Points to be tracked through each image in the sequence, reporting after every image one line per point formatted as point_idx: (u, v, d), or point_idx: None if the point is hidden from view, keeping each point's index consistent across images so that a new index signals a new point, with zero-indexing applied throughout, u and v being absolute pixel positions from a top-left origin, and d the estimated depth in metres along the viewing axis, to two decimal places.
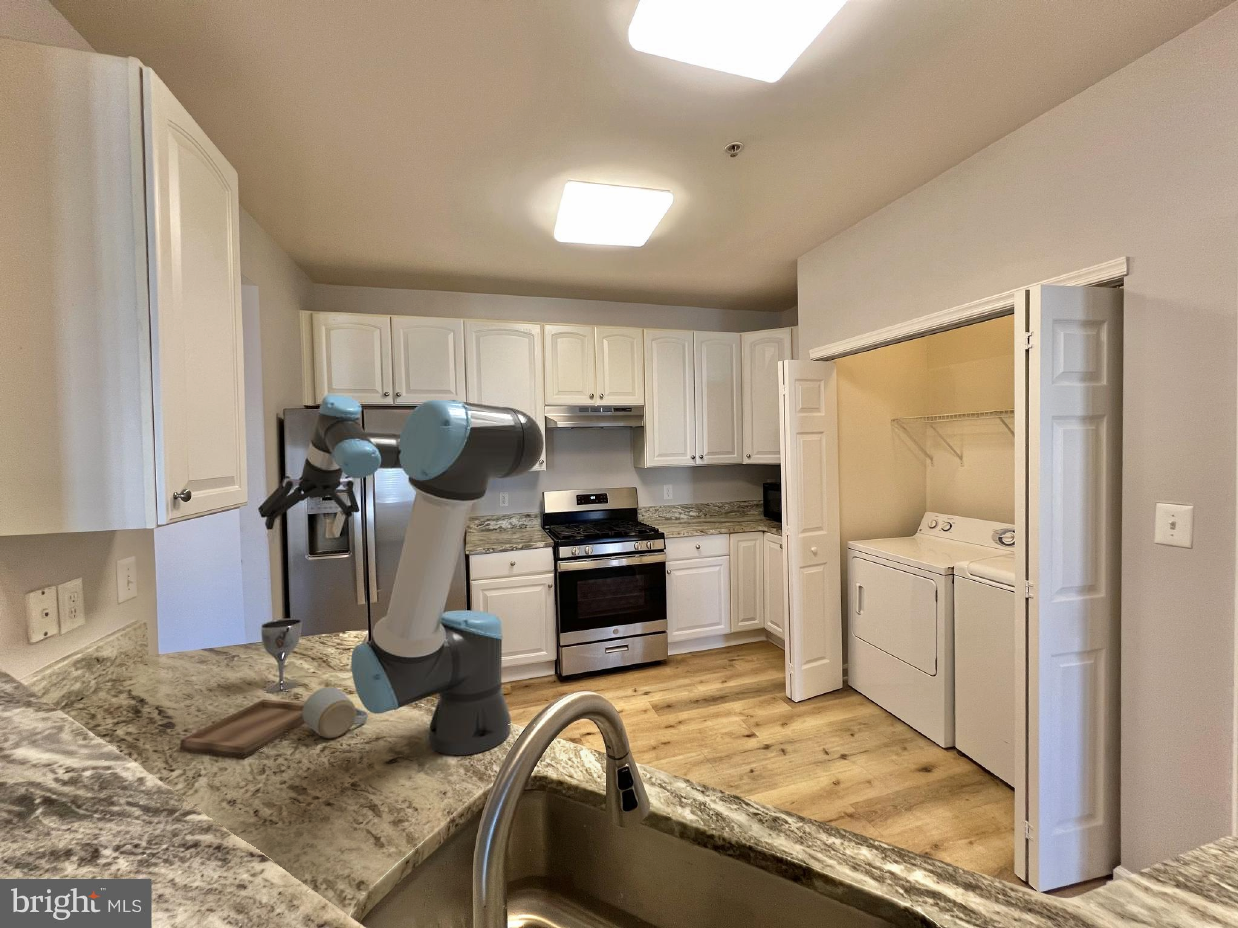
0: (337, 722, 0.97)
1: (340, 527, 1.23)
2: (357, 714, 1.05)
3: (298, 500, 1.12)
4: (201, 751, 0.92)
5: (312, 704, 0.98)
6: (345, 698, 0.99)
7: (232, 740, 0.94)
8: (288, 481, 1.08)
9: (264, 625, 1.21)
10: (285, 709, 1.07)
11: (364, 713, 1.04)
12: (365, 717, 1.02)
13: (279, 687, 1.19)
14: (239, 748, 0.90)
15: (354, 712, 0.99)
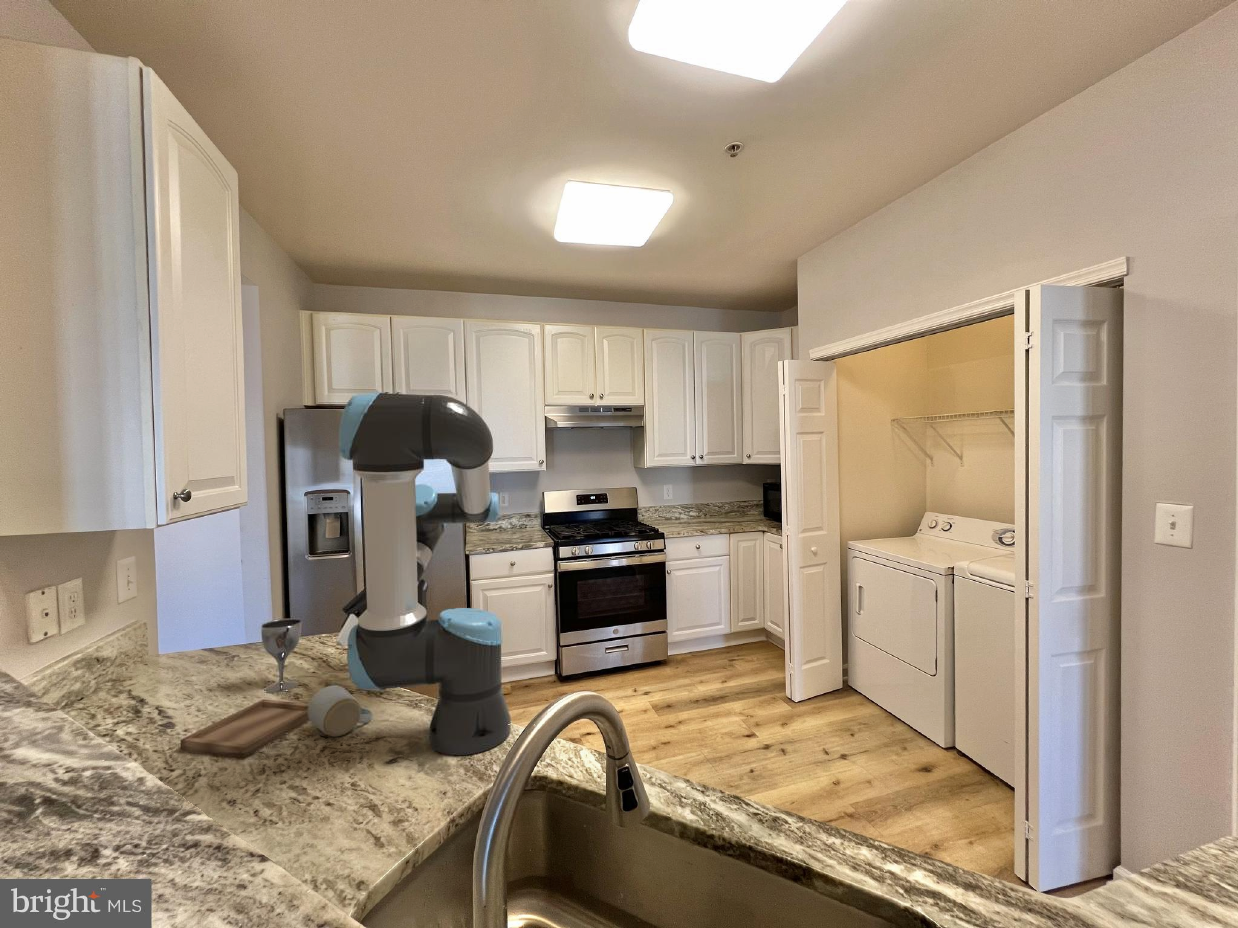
0: (342, 720, 0.97)
1: None
2: (362, 713, 1.05)
3: None
4: (201, 751, 0.92)
5: (317, 702, 0.98)
6: (350, 697, 1.00)
7: (232, 740, 0.94)
8: None
9: (264, 625, 1.21)
10: (285, 709, 1.07)
11: (369, 712, 1.05)
12: (370, 715, 1.02)
13: (279, 687, 1.19)
14: (239, 748, 0.90)
15: (359, 710, 1.00)
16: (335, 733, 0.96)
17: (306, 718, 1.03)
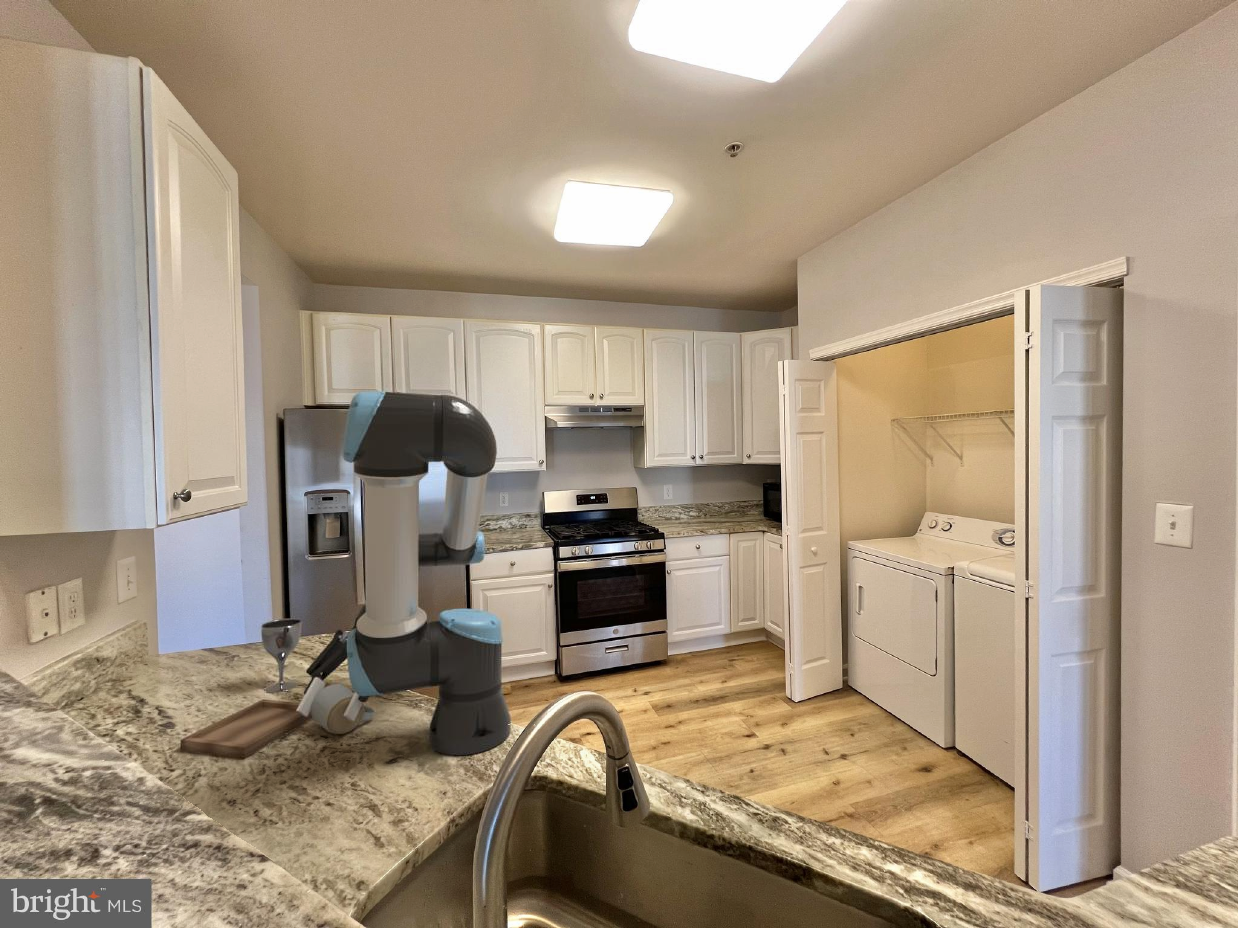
0: (345, 718, 0.98)
1: (353, 699, 0.97)
2: (364, 711, 1.06)
3: (341, 650, 1.06)
4: (201, 751, 0.92)
5: (321, 701, 0.99)
6: None
7: (232, 740, 0.94)
8: None
9: (264, 625, 1.21)
10: (285, 709, 1.07)
11: (371, 710, 1.06)
12: (373, 714, 1.03)
13: (279, 687, 1.19)
14: (239, 748, 0.90)
15: (362, 708, 1.00)
16: (339, 731, 0.97)
17: (306, 718, 1.03)
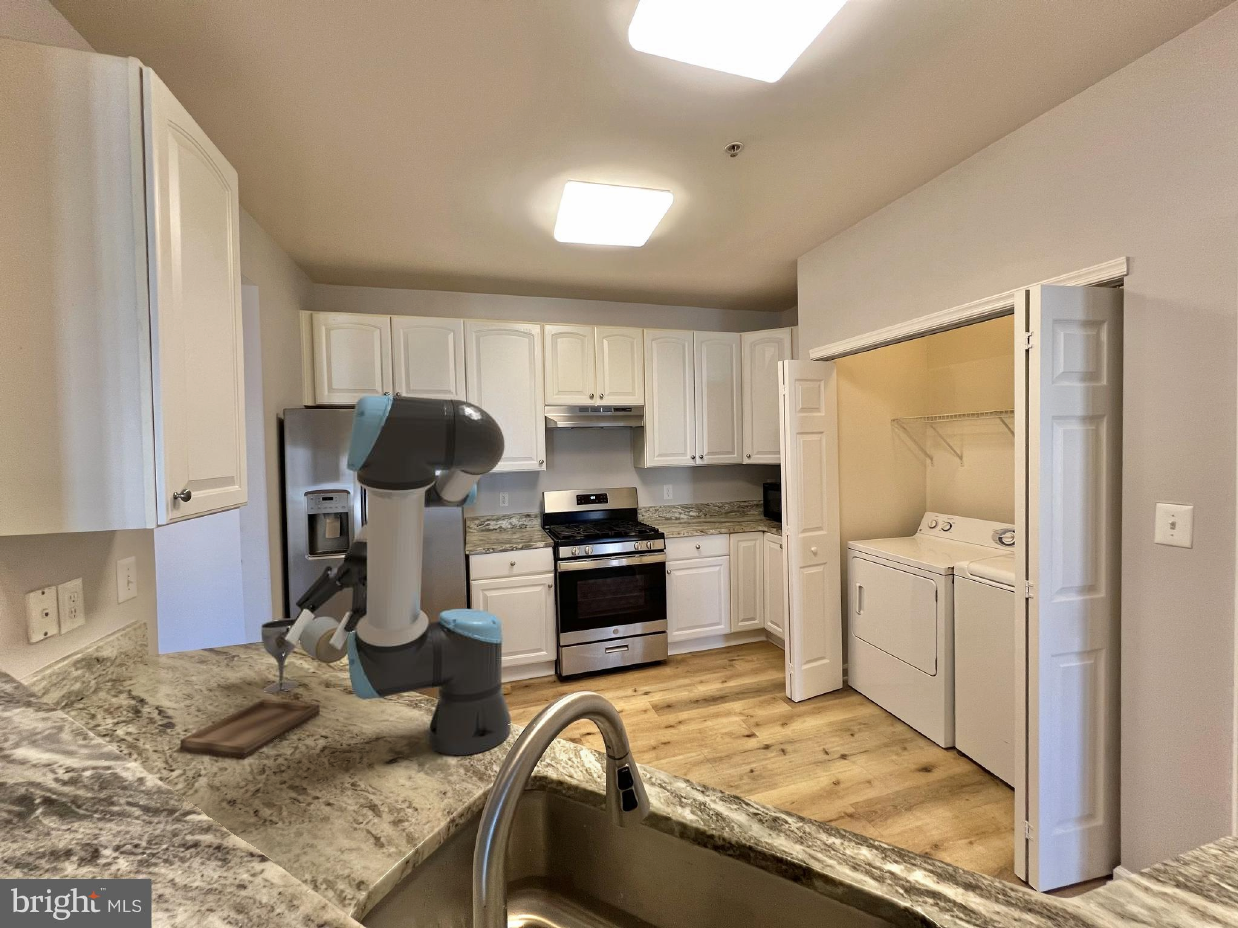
0: (334, 648, 1.00)
1: (339, 628, 0.99)
2: None
3: (330, 585, 1.07)
4: (201, 751, 0.92)
5: (309, 631, 1.01)
6: None
7: (232, 740, 0.94)
8: None
9: (264, 625, 1.21)
10: (285, 709, 1.07)
11: None
12: None
13: (279, 687, 1.19)
14: (239, 748, 0.90)
15: None
16: (327, 659, 0.99)
17: (306, 718, 1.03)
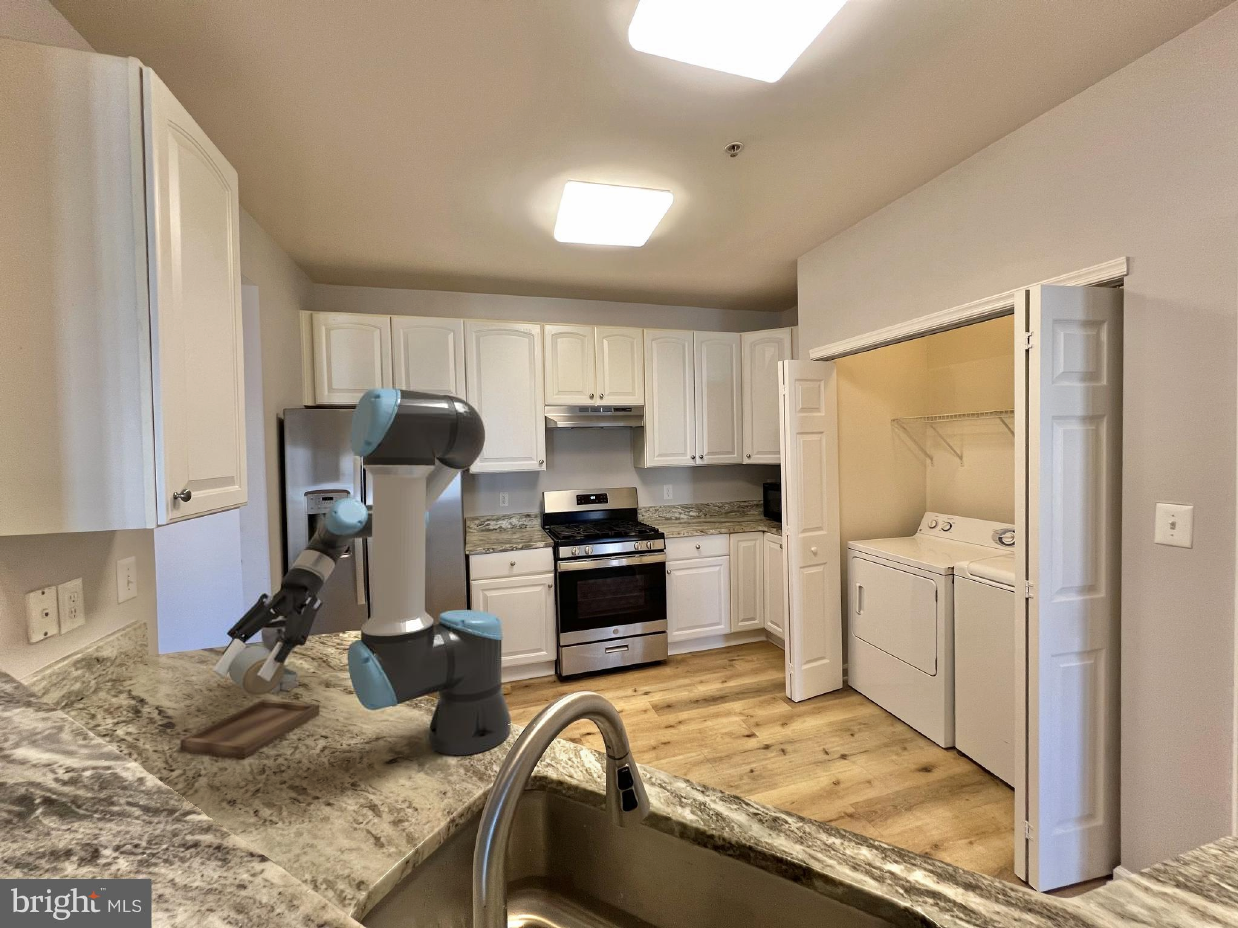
0: (263, 679, 0.98)
1: (268, 659, 0.97)
2: (287, 674, 1.06)
3: (263, 613, 1.05)
4: (201, 751, 0.92)
5: (239, 661, 0.99)
6: None
7: (232, 740, 0.94)
8: None
9: None
10: (285, 709, 1.07)
11: (294, 673, 1.06)
12: (294, 676, 1.03)
13: (279, 687, 1.19)
14: (239, 748, 0.90)
15: (282, 670, 1.00)
16: (255, 691, 0.97)
17: (306, 718, 1.03)
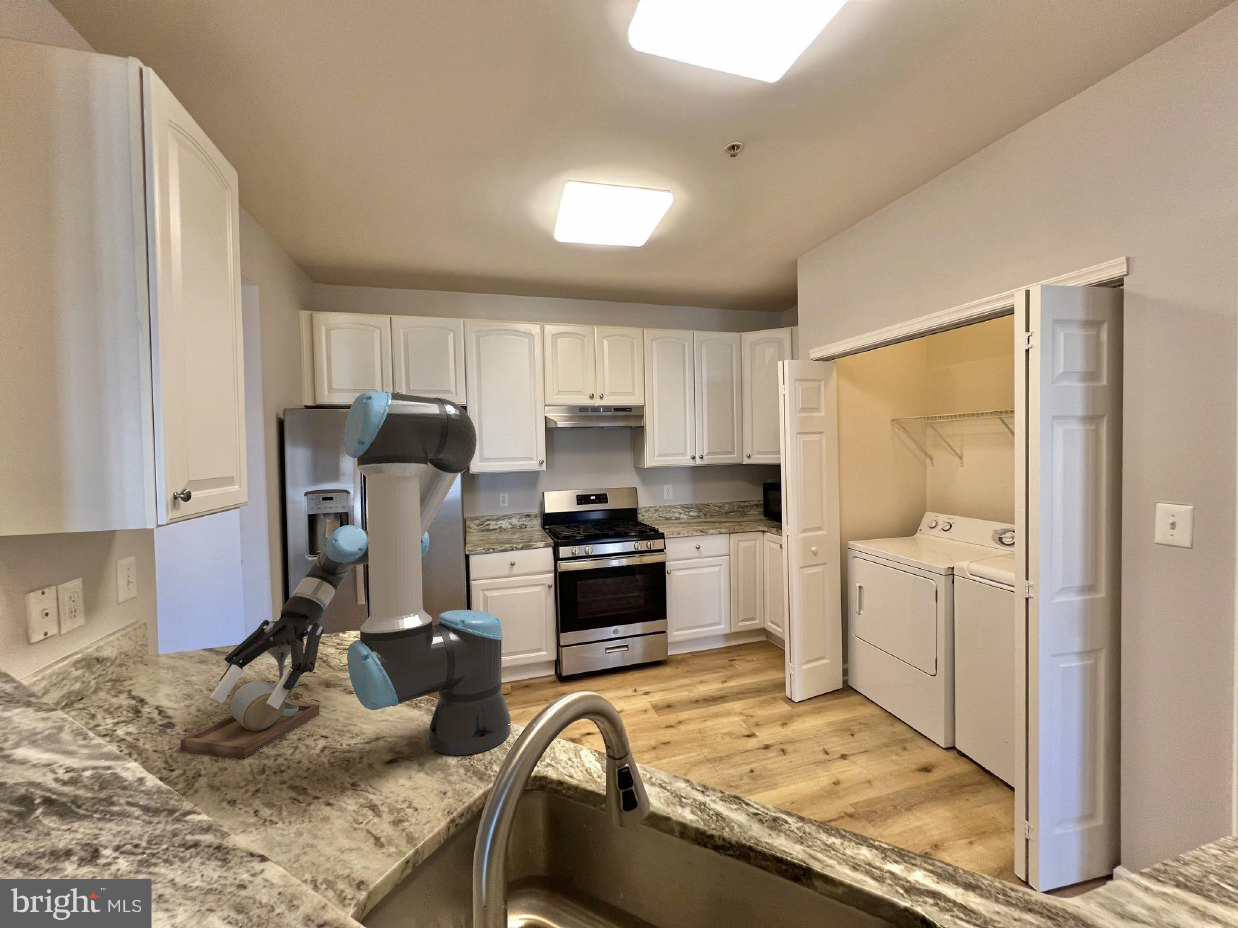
0: (263, 714, 0.97)
1: (277, 687, 0.97)
2: (288, 707, 1.05)
3: (262, 641, 1.05)
4: (201, 751, 0.92)
5: (239, 697, 0.98)
6: None
7: (232, 740, 0.94)
8: None
9: None
10: None
11: (295, 706, 1.05)
12: (295, 710, 1.03)
13: None
14: (239, 748, 0.90)
15: (282, 705, 1.00)
16: (256, 727, 0.96)
17: (306, 718, 1.03)
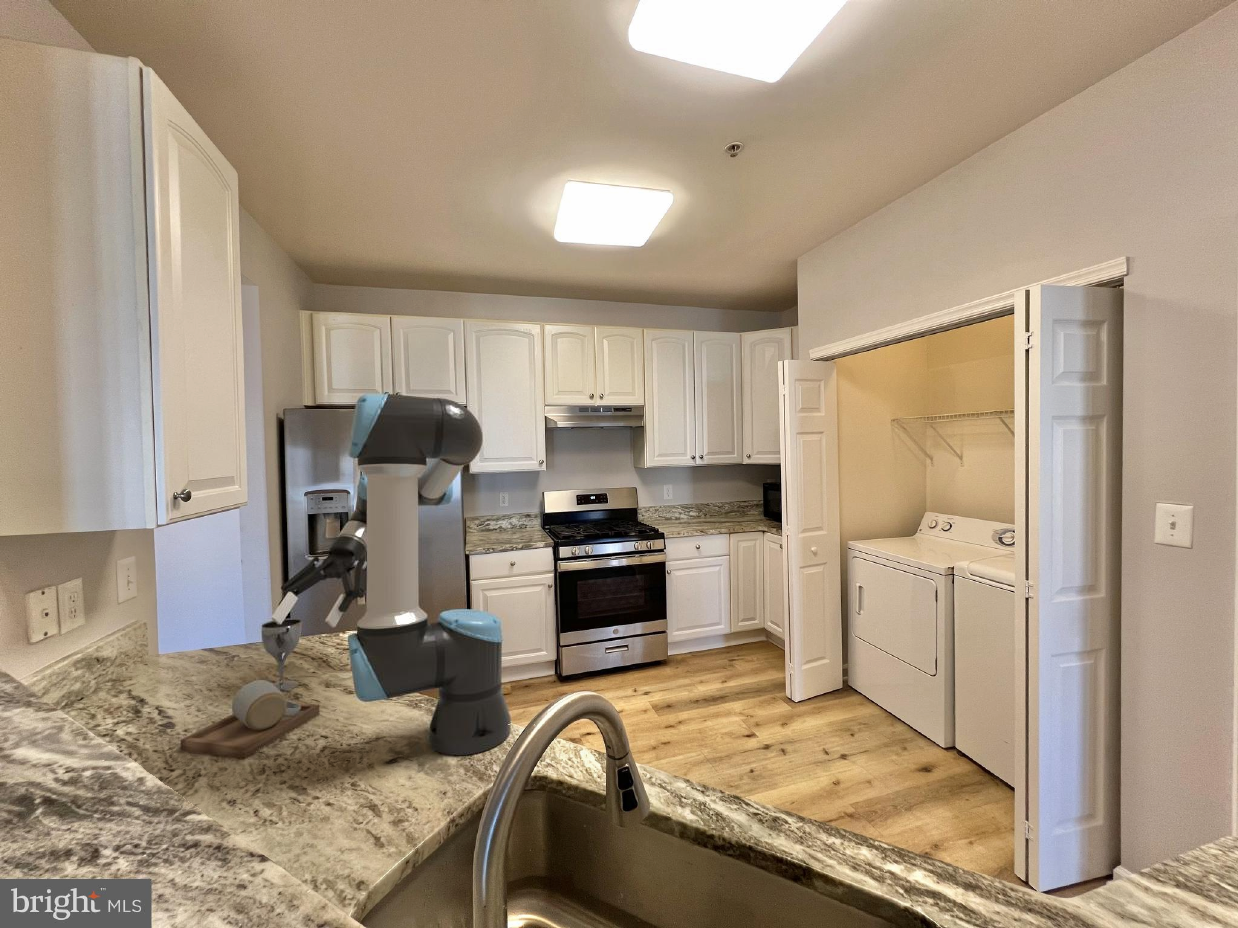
0: (266, 714, 0.98)
1: (334, 608, 1.10)
2: (290, 707, 1.06)
3: (314, 573, 1.19)
4: (201, 751, 0.92)
5: (241, 697, 0.98)
6: (275, 690, 1.00)
7: (232, 740, 0.94)
8: None
9: (264, 625, 1.21)
10: None
11: (297, 706, 1.05)
12: (297, 709, 1.03)
13: (279, 687, 1.19)
14: (239, 748, 0.90)
15: (284, 704, 1.00)
16: (258, 727, 0.97)
17: (306, 718, 1.03)
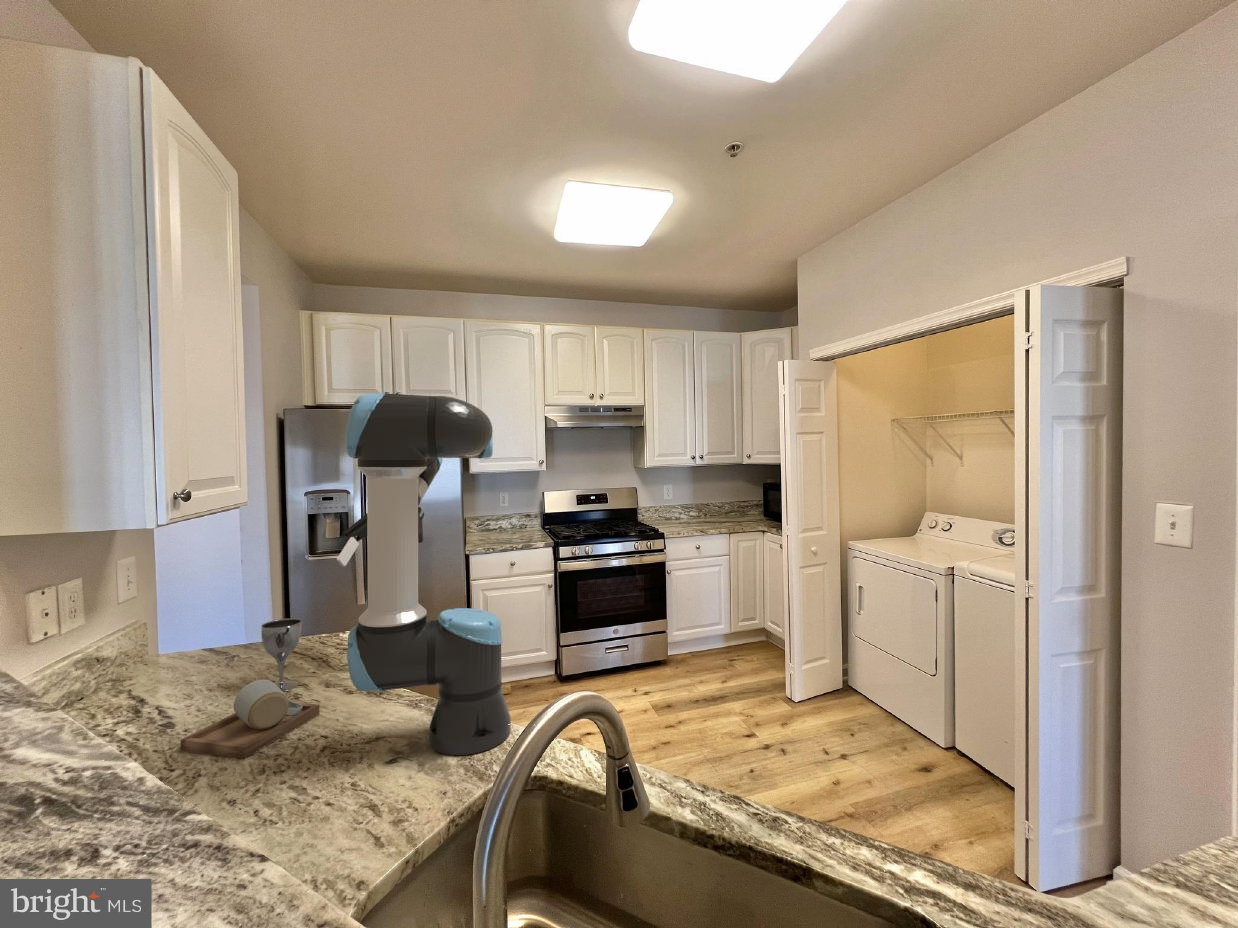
0: (268, 713, 0.98)
1: None
2: (291, 706, 1.06)
3: None
4: (201, 751, 0.92)
5: (243, 696, 0.99)
6: (277, 690, 1.00)
7: (232, 740, 0.94)
8: None
9: (264, 625, 1.21)
10: None
11: (298, 705, 1.06)
12: (299, 709, 1.03)
13: (279, 687, 1.19)
14: (239, 748, 0.90)
15: (286, 704, 1.00)
16: (260, 726, 0.97)
17: (306, 718, 1.03)
